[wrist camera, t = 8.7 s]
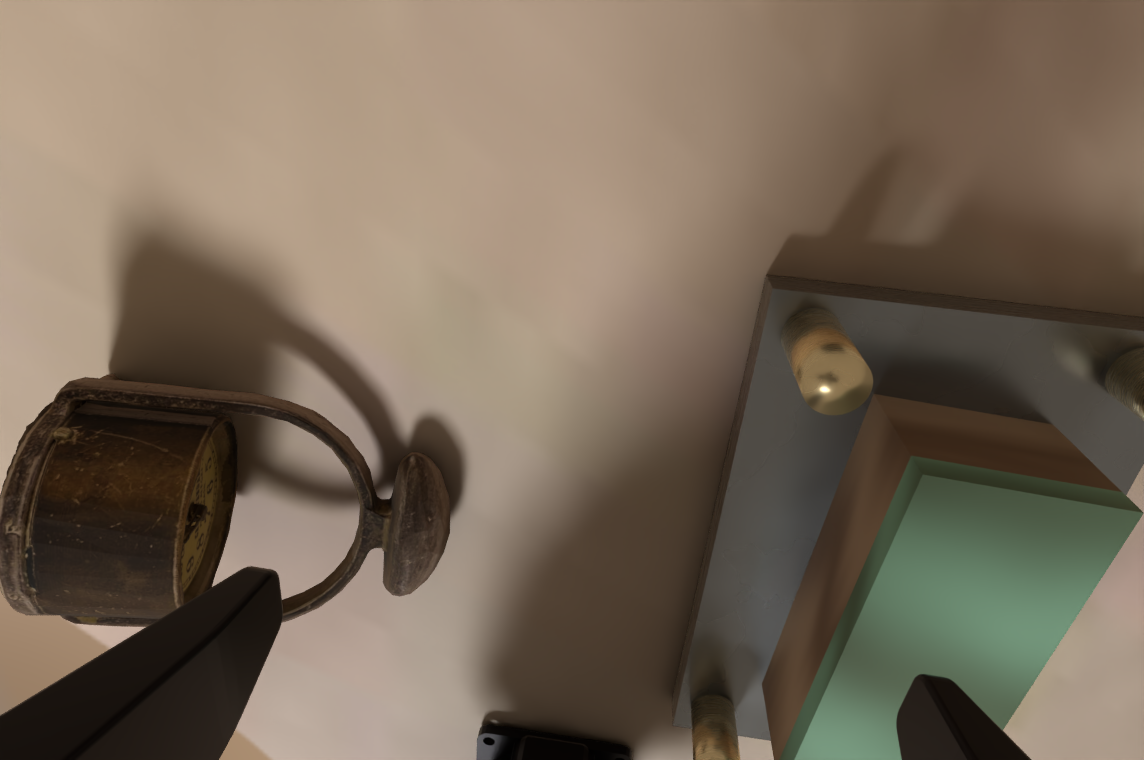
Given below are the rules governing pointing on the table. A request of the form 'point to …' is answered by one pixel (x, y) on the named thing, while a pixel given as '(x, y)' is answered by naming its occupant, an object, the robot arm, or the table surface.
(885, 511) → the board block
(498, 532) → the table surface
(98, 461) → the bronze antique clock
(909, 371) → the plate
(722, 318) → the table surface
